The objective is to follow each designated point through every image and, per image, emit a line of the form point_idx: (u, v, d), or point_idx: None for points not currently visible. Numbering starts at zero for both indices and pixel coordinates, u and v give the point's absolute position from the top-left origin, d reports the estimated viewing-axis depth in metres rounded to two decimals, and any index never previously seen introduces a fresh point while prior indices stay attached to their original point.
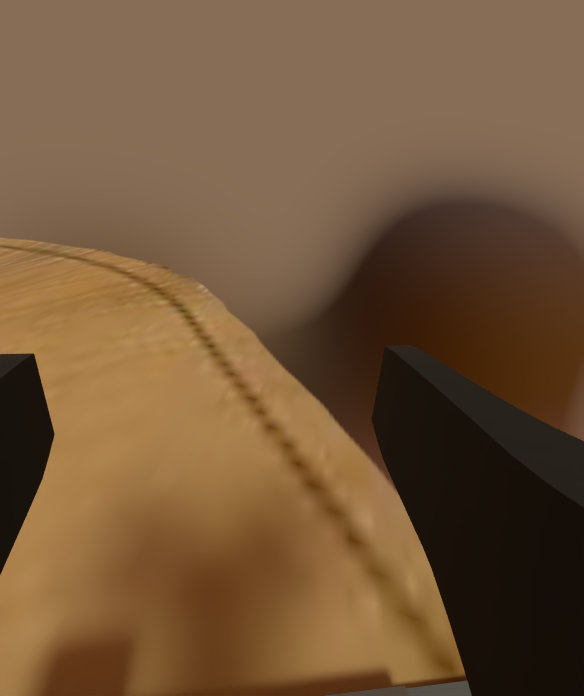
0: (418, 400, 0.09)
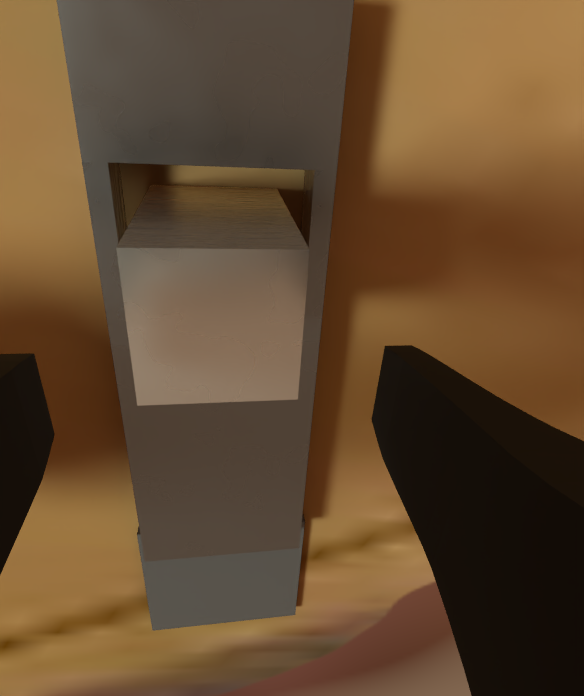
0: (418, 400, 0.09)
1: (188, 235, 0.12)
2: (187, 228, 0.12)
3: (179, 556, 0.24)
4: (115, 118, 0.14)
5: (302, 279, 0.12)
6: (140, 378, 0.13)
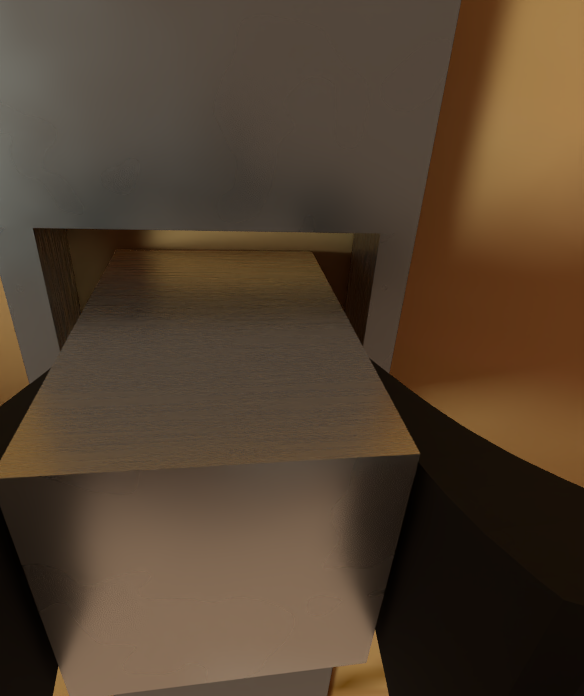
0: None
1: (164, 411, 0.06)
2: (162, 381, 0.06)
3: None
4: (40, 154, 0.08)
5: (398, 501, 0.06)
6: (72, 666, 0.06)
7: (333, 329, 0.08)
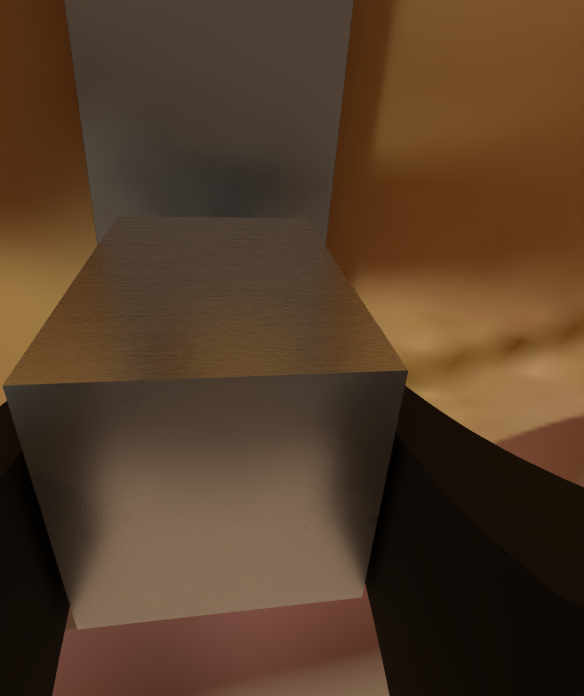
0: None
1: (165, 337, 0.06)
2: (164, 315, 0.07)
3: None
4: None
5: (388, 421, 0.06)
6: (79, 592, 0.07)
7: (327, 277, 0.08)
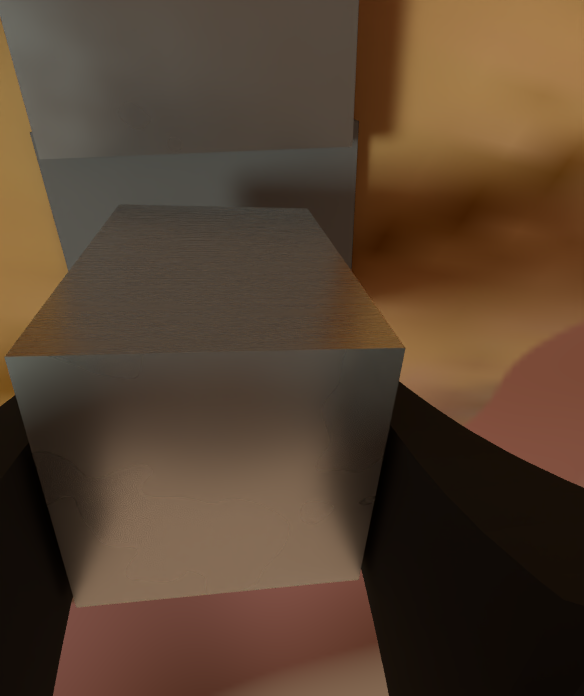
0: None
1: (165, 314, 0.06)
2: (164, 296, 0.07)
3: (112, 155, 0.12)
4: None
5: (385, 399, 0.06)
6: (78, 569, 0.07)
7: (326, 263, 0.08)
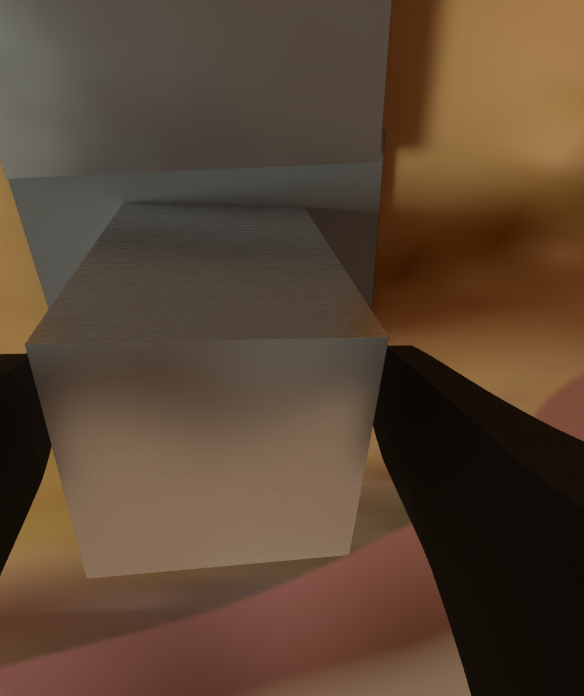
0: (418, 400, 0.09)
1: (169, 306, 0.07)
2: (168, 289, 0.07)
3: (94, 174, 0.10)
4: None
5: (371, 384, 0.07)
6: (89, 542, 0.07)
7: (320, 259, 0.09)
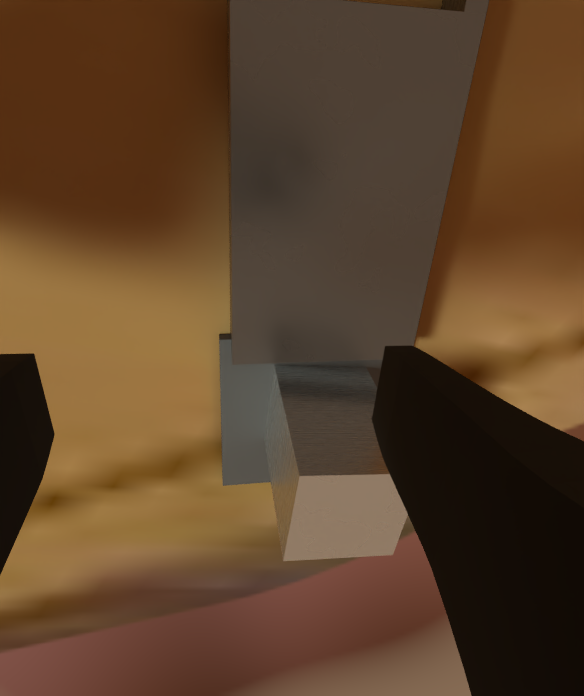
0: (418, 400, 0.09)
1: (337, 454, 0.17)
2: (332, 443, 0.17)
3: (273, 362, 0.20)
4: None
5: None
6: (290, 545, 0.18)
7: None
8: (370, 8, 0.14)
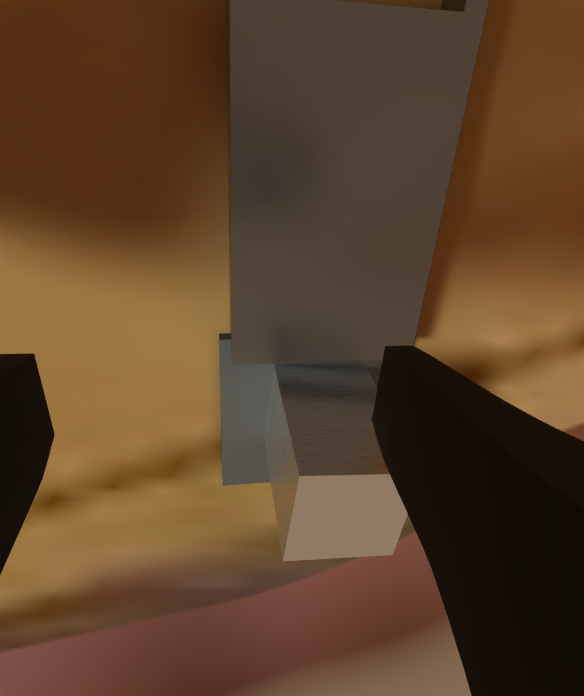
0: (418, 400, 0.09)
1: (337, 454, 0.17)
2: (331, 443, 0.17)
3: (272, 362, 0.20)
4: None
5: None
6: (290, 545, 0.18)
7: None
8: (370, 8, 0.14)
